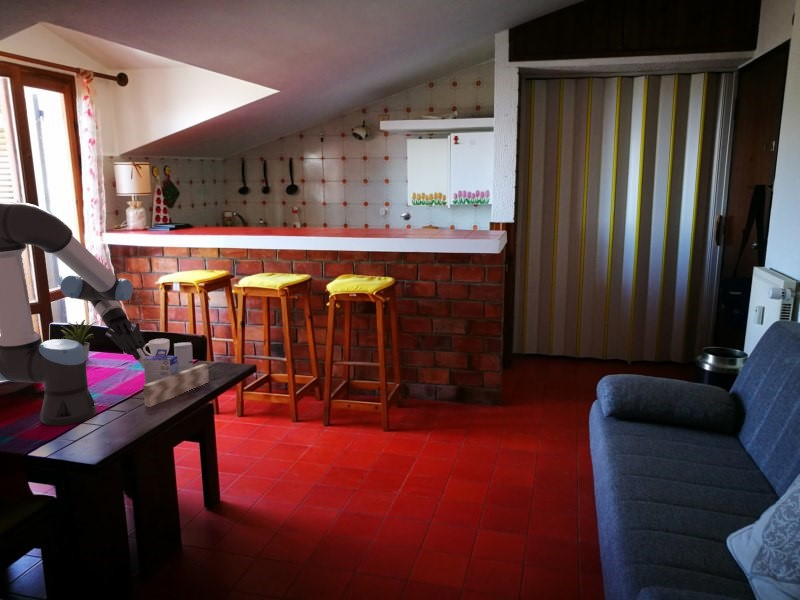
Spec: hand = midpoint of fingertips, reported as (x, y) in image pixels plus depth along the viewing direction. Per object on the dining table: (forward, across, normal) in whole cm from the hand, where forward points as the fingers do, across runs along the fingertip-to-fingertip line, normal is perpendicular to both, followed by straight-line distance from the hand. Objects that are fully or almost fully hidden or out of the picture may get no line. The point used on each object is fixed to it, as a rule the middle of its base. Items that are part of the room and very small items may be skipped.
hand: (146, 365), depth 212 cm
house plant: (-29, -9, -40) cm, 50 cm away
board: (+16, 0, +6) cm, 17 cm away
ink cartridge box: (+12, +1, +1) cm, 12 cm away
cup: (-12, -25, -23) cm, 36 cm away
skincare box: (+7, -14, -4) cm, 17 cm away
